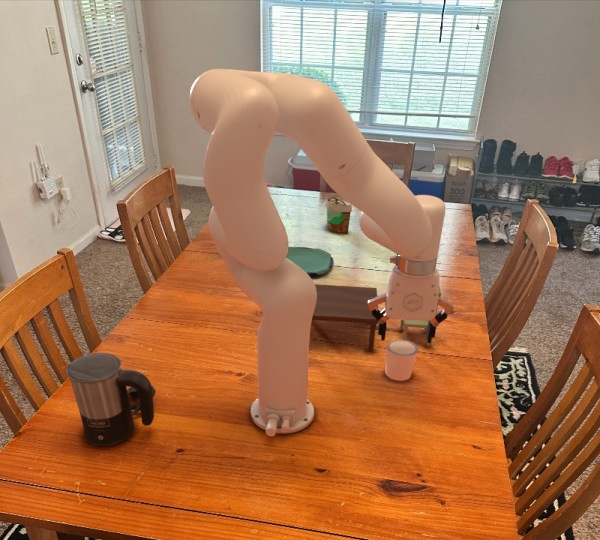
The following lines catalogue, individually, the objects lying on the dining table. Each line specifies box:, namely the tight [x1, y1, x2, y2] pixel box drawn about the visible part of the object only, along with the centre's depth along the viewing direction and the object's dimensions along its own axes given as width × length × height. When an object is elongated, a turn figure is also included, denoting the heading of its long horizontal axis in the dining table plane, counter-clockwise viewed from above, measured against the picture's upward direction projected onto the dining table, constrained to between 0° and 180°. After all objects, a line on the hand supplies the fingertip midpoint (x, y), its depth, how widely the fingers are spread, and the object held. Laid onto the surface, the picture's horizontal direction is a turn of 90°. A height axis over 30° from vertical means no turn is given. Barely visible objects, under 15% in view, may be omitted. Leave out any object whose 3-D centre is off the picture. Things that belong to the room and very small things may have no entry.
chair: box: [399, 286, 442, 348], centre depth 133 cm, size 8×7×14 cm
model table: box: [312, 283, 379, 352], centre depth 136 cm, size 16×18×9 cm
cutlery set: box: [286, 246, 335, 276], centre depth 170 cm, size 20×30×2 cm, turn 83°
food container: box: [324, 194, 353, 235], centre depth 191 cm, size 12×6×10 cm, turn 25°
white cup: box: [384, 339, 419, 382], centre depth 123 cm, size 7×7×7 cm
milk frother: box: [65, 352, 156, 447], centre depth 106 cm, size 14×16×15 cm
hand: (405, 338), depth 120 cm, fingers open, 9 cm apart
